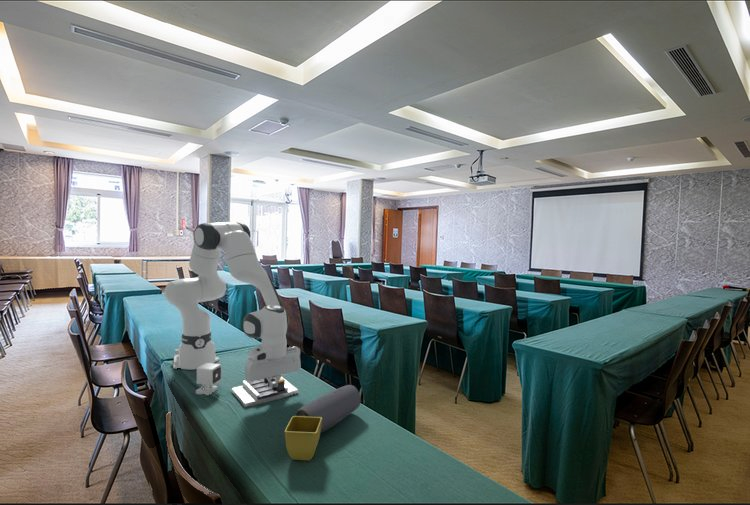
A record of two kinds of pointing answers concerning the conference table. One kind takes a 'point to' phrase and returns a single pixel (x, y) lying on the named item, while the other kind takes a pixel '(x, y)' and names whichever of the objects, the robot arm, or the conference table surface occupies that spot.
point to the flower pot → (302, 436)
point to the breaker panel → (261, 392)
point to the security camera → (208, 377)
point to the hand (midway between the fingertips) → (273, 387)
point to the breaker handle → (281, 384)
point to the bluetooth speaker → (332, 406)
